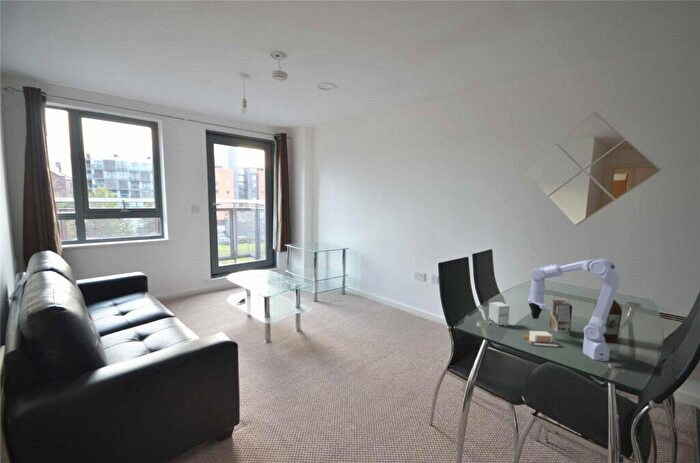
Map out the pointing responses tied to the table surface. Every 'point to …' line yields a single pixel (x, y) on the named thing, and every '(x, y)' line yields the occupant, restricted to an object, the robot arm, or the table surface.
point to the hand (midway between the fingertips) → (535, 318)
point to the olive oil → (613, 323)
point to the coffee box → (561, 316)
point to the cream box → (540, 336)
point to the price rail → (545, 344)
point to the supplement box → (499, 313)
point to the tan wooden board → (529, 340)
